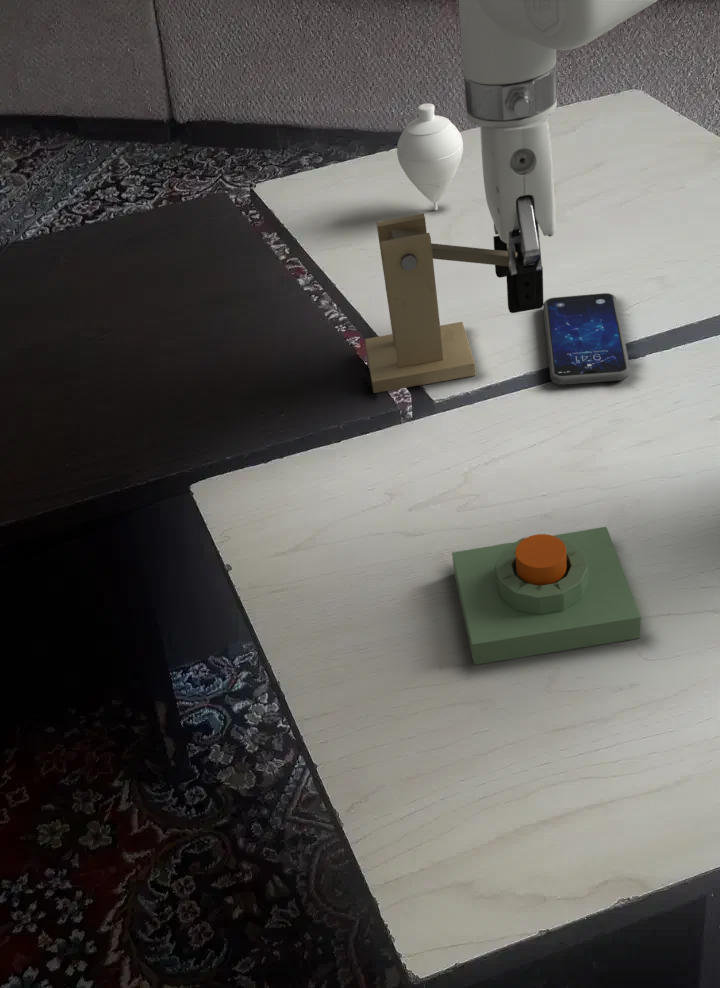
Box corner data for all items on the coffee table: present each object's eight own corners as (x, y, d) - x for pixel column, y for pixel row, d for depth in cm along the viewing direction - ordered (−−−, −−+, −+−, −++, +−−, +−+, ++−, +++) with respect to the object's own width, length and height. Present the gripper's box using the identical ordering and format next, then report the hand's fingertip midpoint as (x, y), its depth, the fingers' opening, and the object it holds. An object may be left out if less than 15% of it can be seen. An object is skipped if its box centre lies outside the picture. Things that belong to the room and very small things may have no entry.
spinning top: (395, 223, 127) (381, 119, 119) (417, 194, 132) (406, 92, 123) (455, 225, 124) (446, 119, 116) (476, 196, 129) (468, 92, 120)
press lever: (519, 258, 101) (526, 234, 100) (532, 288, 97) (538, 263, 96) (384, 244, 99) (388, 219, 98) (391, 274, 95) (395, 249, 94)
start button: (560, 548, 78) (560, 530, 77) (571, 580, 76) (571, 562, 75) (512, 556, 79) (511, 538, 77) (521, 589, 76) (520, 571, 75)
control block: (606, 547, 83) (606, 508, 80) (640, 638, 76) (642, 598, 73) (454, 573, 84) (449, 534, 81) (474, 665, 77) (469, 626, 74)
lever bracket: (463, 333, 108) (451, 200, 98) (475, 375, 102) (464, 239, 92) (366, 350, 108) (345, 220, 98) (373, 393, 103) (351, 259, 93)
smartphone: (616, 290, 107) (632, 373, 97) (615, 299, 108) (631, 382, 98) (541, 297, 108) (550, 379, 98) (542, 305, 109) (550, 388, 99)
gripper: (579, 122, 82) (578, 331, 94) (535, 49, 94) (540, 243, 106) (482, 140, 82) (495, 345, 95) (451, 64, 94) (466, 256, 107)
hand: (518, 289), depth 100 cm, fingers closed on press lever, 6 cm apart
